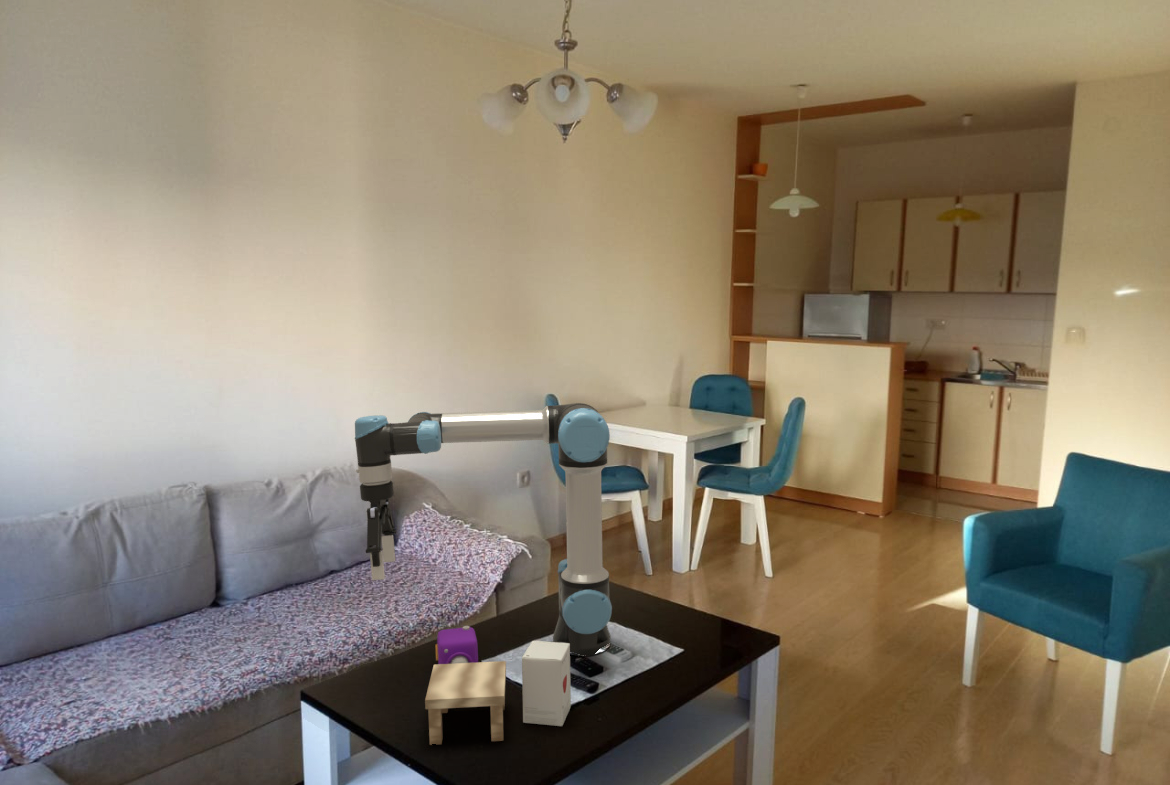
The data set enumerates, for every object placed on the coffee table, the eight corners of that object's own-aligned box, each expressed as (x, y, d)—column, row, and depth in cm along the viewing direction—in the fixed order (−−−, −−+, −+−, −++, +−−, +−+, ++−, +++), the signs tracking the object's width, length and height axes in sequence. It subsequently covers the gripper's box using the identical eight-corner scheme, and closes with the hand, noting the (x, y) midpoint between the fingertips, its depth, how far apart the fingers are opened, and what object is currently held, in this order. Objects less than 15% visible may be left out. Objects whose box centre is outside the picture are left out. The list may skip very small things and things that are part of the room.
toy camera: (444, 690, 188) (442, 649, 187) (431, 666, 201) (429, 628, 200) (488, 681, 193) (487, 641, 191) (473, 658, 205) (471, 620, 204)
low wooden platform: (507, 703, 182) (505, 661, 181) (505, 741, 166) (504, 695, 165) (435, 707, 181) (433, 664, 179) (427, 746, 165) (425, 700, 164)
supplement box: (562, 727, 171) (561, 660, 169) (522, 723, 173) (520, 657, 171) (572, 706, 180) (570, 642, 178) (533, 702, 182) (531, 639, 180)
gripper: (371, 473, 201) (378, 555, 203) (347, 494, 176) (356, 588, 178) (401, 470, 201) (408, 553, 203) (381, 492, 176) (390, 586, 178)
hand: (384, 570), depth 190 cm, fingers open, 13 cm apart
